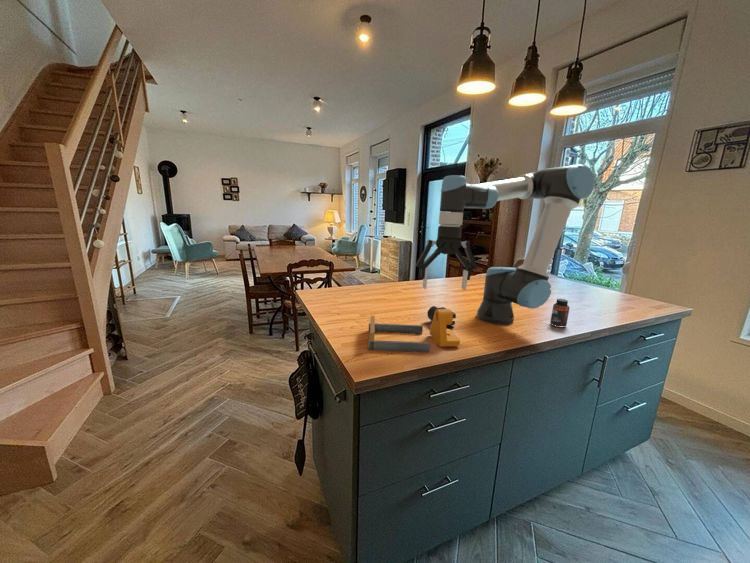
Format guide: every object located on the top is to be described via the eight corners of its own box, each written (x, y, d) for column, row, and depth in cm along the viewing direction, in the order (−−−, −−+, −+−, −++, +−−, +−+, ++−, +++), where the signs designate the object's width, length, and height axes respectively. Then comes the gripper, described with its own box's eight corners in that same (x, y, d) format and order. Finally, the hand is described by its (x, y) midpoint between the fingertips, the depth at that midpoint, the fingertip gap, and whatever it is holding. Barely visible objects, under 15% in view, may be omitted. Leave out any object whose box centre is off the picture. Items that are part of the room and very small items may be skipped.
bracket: (460, 348, 102) (464, 314, 99) (439, 348, 101) (443, 314, 98) (448, 335, 113) (451, 304, 110) (429, 335, 111) (432, 304, 109)
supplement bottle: (566, 325, 129) (571, 299, 126) (565, 329, 124) (571, 303, 121) (550, 321, 132) (555, 297, 129) (549, 325, 127) (553, 300, 124)
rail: (421, 332, 114) (422, 317, 112) (429, 352, 98) (430, 335, 97) (368, 330, 113) (369, 315, 112) (367, 349, 98) (368, 332, 96)
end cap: (426, 321, 126) (427, 306, 124) (440, 320, 128) (442, 305, 127) (440, 330, 117) (441, 314, 115) (455, 328, 119) (456, 312, 118)
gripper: (483, 226, 103) (476, 286, 108) (410, 223, 102) (406, 284, 107) (492, 227, 95) (484, 292, 100) (413, 224, 95) (409, 290, 100)
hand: (444, 288), depth 104 cm, fingers open, 13 cm apart
